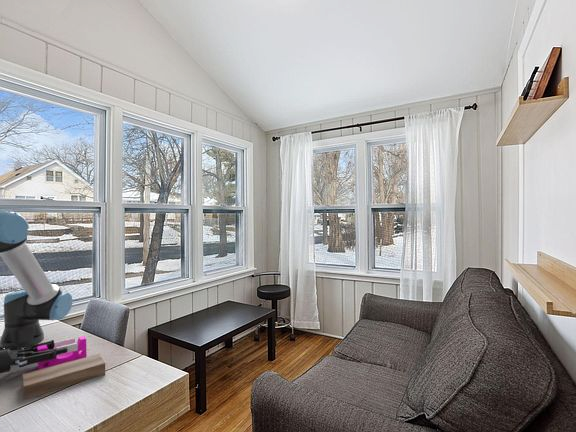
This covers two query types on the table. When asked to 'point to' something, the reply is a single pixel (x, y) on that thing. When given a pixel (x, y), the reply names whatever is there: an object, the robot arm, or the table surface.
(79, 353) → the toy block
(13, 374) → the table surface
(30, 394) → the base brick
